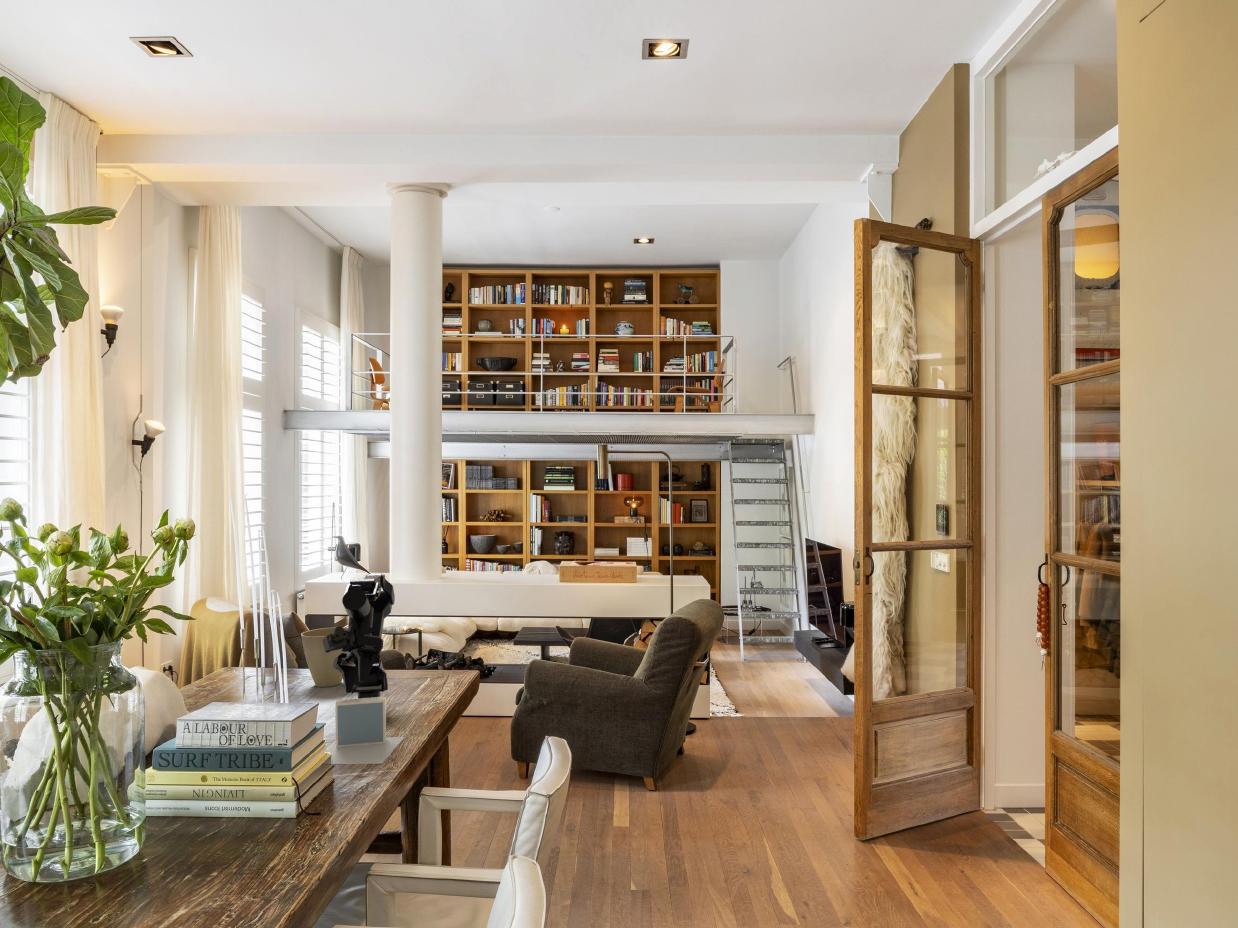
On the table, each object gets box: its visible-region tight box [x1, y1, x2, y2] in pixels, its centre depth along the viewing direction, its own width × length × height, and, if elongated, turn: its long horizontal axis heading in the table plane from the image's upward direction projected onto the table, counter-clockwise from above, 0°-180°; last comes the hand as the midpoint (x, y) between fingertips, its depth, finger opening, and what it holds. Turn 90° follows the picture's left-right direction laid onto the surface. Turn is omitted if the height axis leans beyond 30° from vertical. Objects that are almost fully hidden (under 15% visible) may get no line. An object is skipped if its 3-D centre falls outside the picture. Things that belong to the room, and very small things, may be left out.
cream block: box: [334, 696, 387, 747], centre depth 192 cm, size 4×11×10 cm, turn 103°
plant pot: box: [300, 627, 349, 688], centre depth 251 cm, size 15×15×16 cm
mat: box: [326, 736, 405, 765], centre depth 187 cm, size 18×16×1 cm
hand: (354, 687), depth 198 cm, fingers open, 9 cm apart
